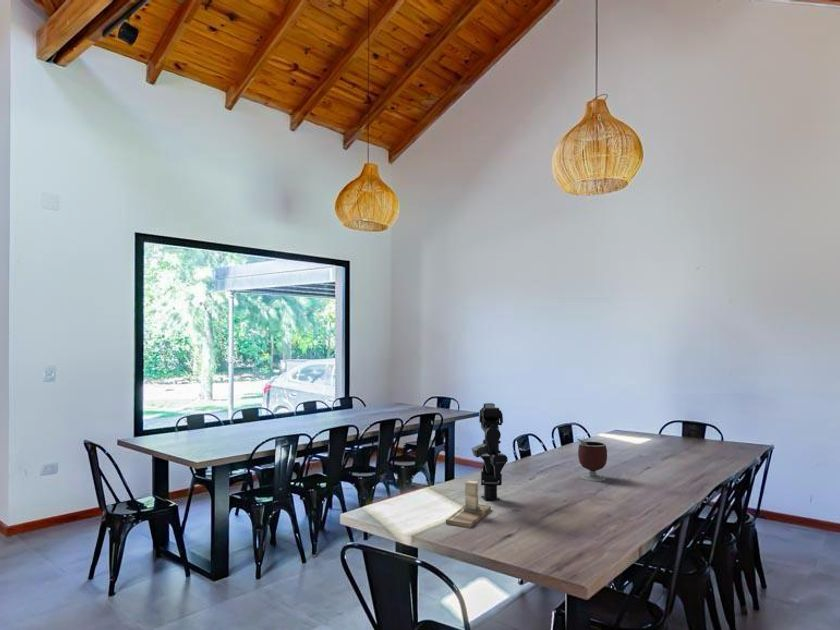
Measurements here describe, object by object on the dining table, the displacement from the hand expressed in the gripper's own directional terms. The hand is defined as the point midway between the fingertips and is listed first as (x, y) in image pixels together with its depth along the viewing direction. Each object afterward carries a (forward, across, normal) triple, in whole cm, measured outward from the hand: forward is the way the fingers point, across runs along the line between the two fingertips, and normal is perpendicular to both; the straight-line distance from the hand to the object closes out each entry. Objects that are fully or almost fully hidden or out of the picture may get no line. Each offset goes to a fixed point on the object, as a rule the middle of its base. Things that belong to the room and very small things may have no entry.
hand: (492, 475), depth 234 cm
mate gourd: (+13, -32, +66) cm, 75 cm away
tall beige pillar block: (+11, +6, -11) cm, 17 cm away
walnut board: (+13, +9, -13) cm, 20 cm away
